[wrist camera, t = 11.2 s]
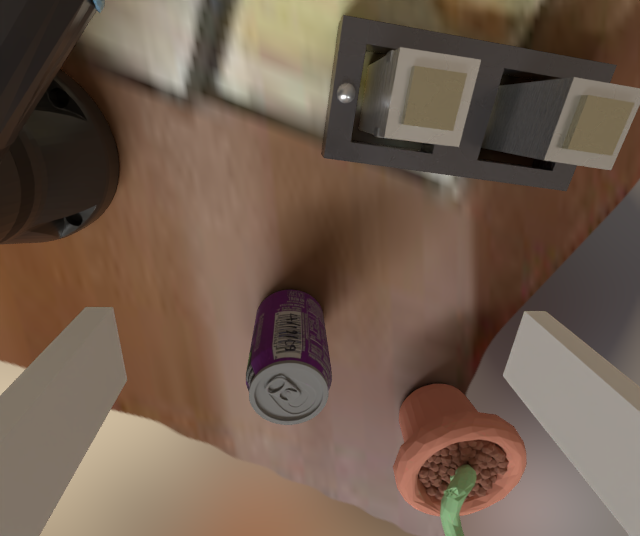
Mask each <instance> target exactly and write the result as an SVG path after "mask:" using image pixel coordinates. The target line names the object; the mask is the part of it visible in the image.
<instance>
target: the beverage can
mask: <svg viewBox="0 0 640 536" xmlns="http://www.w3.org/2000/svg"><path fill="white" fill-rule="evenodd" d="M331 381H332V371H331V364H330V358H329V351H328V344H327V337H326V330H325V323H324V316H323V311H322V308H321V306H320V305H319V303H318V302H317V301H316V300H315V299H314V298H313V297H312V296H310V295H309V294H307V293H305V292H302V291H299V290H282V291H278V292H275V293H273V294H271V295H270V296H268V297H267V298H266V299H265V300H264V301H263V302H262V303H261V304H260V306H259V308H258V311H257V314H256V320H255V326H254V331H253V337H252V343H251V349H250V354H249V360H248V366H247V371H246V385H247V388H248V391H249V399H250V403H251V405H252V407H253V409H254V410H255V411H256V413H257V414H258V415H260V416H261V417H262V418H264V419H266V420H268V421H270V422H273V423H276V424H283V425H292V424H299V423H302V422H305V421H308V420H310V419H312V418H313V417H315V416H316V415H317V414H319V413H320V412H321V410H322V409H323V408H324V406H325V405H326V402H327V399H328V391H329V389H330V386H331Z"/></svg>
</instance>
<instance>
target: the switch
mask: <svg viewBox="0 0 640 536" xmlns="http://www.w3.org/2000/svg"><path fill="white" fill-rule="evenodd" d="M400 47H402V48H409V49H415V50H422V51H428V52H435V53H441V54H448V55H454V56H461V57H467V58H474V59H480V60H481V63H480V67H479V71H478V74H477V78H476V82H475V86H474V90H473V94H472V98H471V102H470V106H469V110H468V114H467V118H466V121H465V125H464V129H463V133H462V137H461V141H460V145H459V147H455V146H444V145H436V144H428V143H423V144H422V148H421V150H415V149H408V148H401V147H394V146H387V145H380V144H373V143H366V142H359V141H352V140H351V137H352V131H353V124H354V118H355V112H356V106H357V100H358V94H359V87H360V81H361V75H362V69H363V63H364V57H365V51H370V52H375V53H381V54H387V53H388V52H389V51H391V50H396V49H398V48H400ZM616 66H617V65H613V64H607V63H602V62H596V61H591V60H585V59H580V58H574V57H569V56H564V55H558V54H553V53H547V52H542V51H536V50H531V49H525V48H520V47H515V46H509V45H504V44H498V43H493V42H487V41H482V40H476V39H471V38H465V37H460V36H455V35H449V34H444V33H438V32H433V31H427V30H422V29H416V28H411V27H406V26H400V25H395V24H389V23H384V22H378V21H373V20H367V19H362V18H357V17H351V16H346V15H343V17H342V19H341V21H340V23H339V25H338V33H337V40H336V48H335V55H334V63H333V70H332V78H331V85H330V92H329V100H328V107H327V115H326V122H325V130H324V137H323V144H322V152H321V154H322V156H323V157H324V158H328V159H335V160H343V161H350V162H357V163H365V164H372V165H379V166H387V167H394V168H401V169H409V170H416V171H423V172H431V173H438V174H445V175H453V176H460V177H467V178H474V179H482V180H489V181H496V182H504V183H511V184H518V185H526V186H533V187H540V188H548V189H555V190H562V191H567V189H568V186H569V184H570V181H571V179H572V176H573V174H574V171H575V169H576V166H577V165H579V166H586V167H593V168H600V169H607V170H611V169H612V167H613V165H614V162H615V160H616V158H617V155H618V153H619V151H620V148H621V146H622V144H623V142H624V139H625V137H626V135H627V132H628V130H629V128H630V126H631V123H632V121H633V119H634V116H635V114H636V112H637V109H638V107H639V105H640V89H639V88H633V87H628V86H622V85H616V84H611V83H610V81H611V78H612V76H613V73H614V71H615V68H616ZM502 75H508V76H514V77H520V78H525V79H531V80H537V81H536V82H527V83H518V84H510V85H501V86H499V85H500V81H501V78H502ZM481 148H485V149H490V150H495V151H500V152H505V153H510V154H515V155H520V156H525V157H530V158H535V159H534V162H533V165H532V166H527V165H520V164H513V163H506V162H499V161H492V160H485V159H478V156H479V153H480V149H481Z"/></svg>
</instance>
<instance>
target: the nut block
mask: <svg viewBox="0 0 640 536" xmlns="http://www.w3.org/2000/svg"><path fill="white" fill-rule="evenodd" d="M480 63H481V60H480V59H474V58H467V57H461V56H454V55H448V54H441V53H435V52H428V51H422V50H415V49H409V48H402V47H400V48H398V49H396V50H391V51H389V52H388V53H387V55H386V56H384V57H383V58H381V59H379V60H377V61H376V62H374V63H372V64H371V65H369V66H368V70H367V76H366V83H365V90H364V96H363V103H362V109H361V116H360V123H359V129H358V130H361V131H364V132H368V133H371V134H374V135H373V136H375V137H380V138H388V139H396V140H404V141H412V142H420V143H428V144H436V145H444V146H455V147H459V145H460V141H461V137H462V133H463V129H464V125H465V121H466V118H467V114H468V110H469V106H470V102H471V98H472V94H473V90H474V86H475V82H476V78H477V74H478V71H479V67H480Z"/></svg>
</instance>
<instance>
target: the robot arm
mask: <svg viewBox="0 0 640 536" xmlns="http://www.w3.org/2000/svg"><path fill="white" fill-rule="evenodd" d="M104 5H105V0H0V244H16V243H38V242H48V241H53V240H57V239H61V238H64V237H67V236H69V235H72V234H74V233H76V232H78V231H79V230H81V229H83V228H85V227H86V226H88V225H90V224H91V223H93V222H94V221H95V220H97V219H98V218H99V217H100V216H101V215H102V214H103V213H104V212H105V210H106V209H107V208H108V206H109V204H110V203H111V201H112V199H113V197H114V194H115V191H116V188H117V183H118V177H119V160H118V153H117V148H116V144H115V140H114V137H113V135H112V132H111V130H110V127H109V125H108V123H107V121H106V119H105V118H104V116H103V114H102V112H101V111H100V109H99V108H98V106H97V105H96V104H95V102H94V101H93V100H92V99H91V97H90V96H89V95H88V94H87V93H86V92H85V91H84V89H83V88H82V87H81V86H79V85H78V84H77V83H76V82H75V81H74V80H73V79H72V78H70V77H69V76H68V75H67V74H65V73H64V72H63V71H61V70H60V68H61V66H62V65H63V63H64V61H65V60H66V58H67V57H68V55H69V54H70V52H71V50H72V49H73V47H74V46H75V44H76V42H77V41H78V39H79V38H80V36H81V34H82V33H83V31H84V30H85V28H86V26H87V25H88V23H89V22H90V20H91V19H92V17H93V15H94V14H95V12H96V11H98V12H99V13H101V11H102V10H103V8H104ZM503 377H504V378H505V379H506V381H507V382H508V383H509V384H510V386H511V387H512V388H513V390H514V391H515V392H516V393H517V395H518V396H519V397H520V398H521V399H522V401H523V402H524V403H525V405H526V406H527V407H528V408H529V410H530V411H531V412H532V413H533V415H534V416H535V417H536V419H537V420H538V421H539V422H540V424H541V425H542V426H543V427H544V429H545V430H546V431H547V432H548V434H549V435H550V436H551V437H552V439H553V440H554V441H555V442H556V444H557V445H558V446H559V447H560V449H561V450H562V451H563V452H564V454H565V455H566V456H567V458H568V459H569V460H570V461H571V463H572V464H573V465H574V466H575V468H576V469H577V470H578V471H579V473H580V474H581V475H582V476H583V478H584V479H585V480H586V481H587V483H588V484H589V485H590V487H591V488H592V489H593V490H594V491H595V493H596V494H597V495H598V497H599V498H600V499H601V500H602V502H603V503H604V504H605V505H606V507H607V508H608V509H609V510H610V512H611V513H612V514H613V516H614V517H615V518H616V519H617V521H618V522H619V523H620V524H621V526H622V527H623V528H624V529H625V531H626V532H627V533H628V534H629V536H640V387H639V386H638V385H637V384H635V383H634V382H633V381H632V380H630V379H629V378H628V377H627V376H625V375H624V374H623V373H622V372H620V371H619V370H618V369H617V368H615V367H614V366H613V365H612V364H611V363H609V362H608V361H607V360H606V359H604V358H603V357H602V356H601V355H599V354H598V353H596V351H594V350H593V349H592V348H591V347H589V346H588V345H587V344H586V343H584V342H583V341H582V340H581V339H579V338H578V337H577V336H576V335H575V334H573V333H572V332H571V331H570V330H568V329H567V328H566V327H565V326H563V325H562V324H561V323H560V322H558V321H557V320H556V319H555V318H553V317H552V316H551V315H550V314H548V313H547V312H546V311H524V314H523V317H522V320H521V323H520V326H519V329H518V332H517V335H516V338H515V340H514V344H513V346H512V349H511V352H510V356H509V359H508V362H507V364H506V367H505V370H504V373H503ZM126 381H127V377H126V372H125V366H124V361H123V356H122V351H121V346H120V341H119V335H118V330H117V325H116V320H115V315H114V310H113V307H85V308H84V310H83V311H82V312H81V313H80V314H79V315H78V316H77V317H76V318H75V319H74V320H73V321H72V322H71V323H70V324H69V325H68V326H67V327H66V328H65V329H64V330H63V331H62V332H61V333H60V334H59V335H58V336H57V338H56V339H55V340H54V341H53V342H52V343H51V344H50V345H49V346H48V347H47V348H46V349H45V350H44V351H43V352H42V353H41V354H40V355H39V356H38V357H37V358H36V359H35V360H34V361H33V362H32V363H31V364H30V365H29V367H28V368H27V369H26V370H25V371H24V372H23V373H22V374H21V375H20V376H19V377H18V378H17V379H16V380H15V381H14V382H13V383H12V384H11V385H10V386H9V387H8V388H7V389H6V390H5V391H4V392H3V393H2V395H1V396H0V536H39V535H40V533H41V531H42V530H43V528H44V526H45V525H46V523H47V521H48V519H49V518H50V516H51V514H52V512H53V510H54V509H55V507H56V505H57V503H58V501H59V500H60V498H61V496H62V495H63V493H64V491H65V489H66V487H67V486H68V484H69V482H70V480H71V479H72V477H73V475H74V473H75V471H76V470H77V468H78V466H79V464H80V463H81V461H82V459H83V457H84V456H85V454H86V452H87V450H88V448H89V446H90V445H91V443H92V441H93V440H94V438H95V436H96V434H97V432H98V431H99V429H100V427H101V425H102V424H103V422H104V420H105V418H106V416H107V415H108V413H109V411H110V409H111V408H112V406H113V404H114V402H115V401H116V399H117V397H118V395H119V394H120V392H121V390H122V388H123V386H124V385H125V383H126Z"/></svg>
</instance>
